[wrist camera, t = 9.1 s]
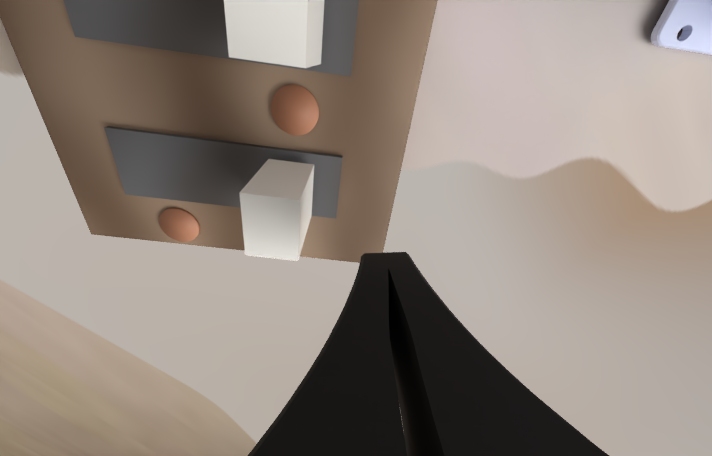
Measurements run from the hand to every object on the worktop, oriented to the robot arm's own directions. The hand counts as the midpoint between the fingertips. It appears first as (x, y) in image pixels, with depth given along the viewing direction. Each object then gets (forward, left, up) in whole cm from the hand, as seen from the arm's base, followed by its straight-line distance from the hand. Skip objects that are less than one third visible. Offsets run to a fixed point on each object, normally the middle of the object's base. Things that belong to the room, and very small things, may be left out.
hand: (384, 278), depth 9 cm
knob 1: (+4, -7, -6) cm, 9 cm away
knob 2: (+4, 0, -6) cm, 7 cm away
